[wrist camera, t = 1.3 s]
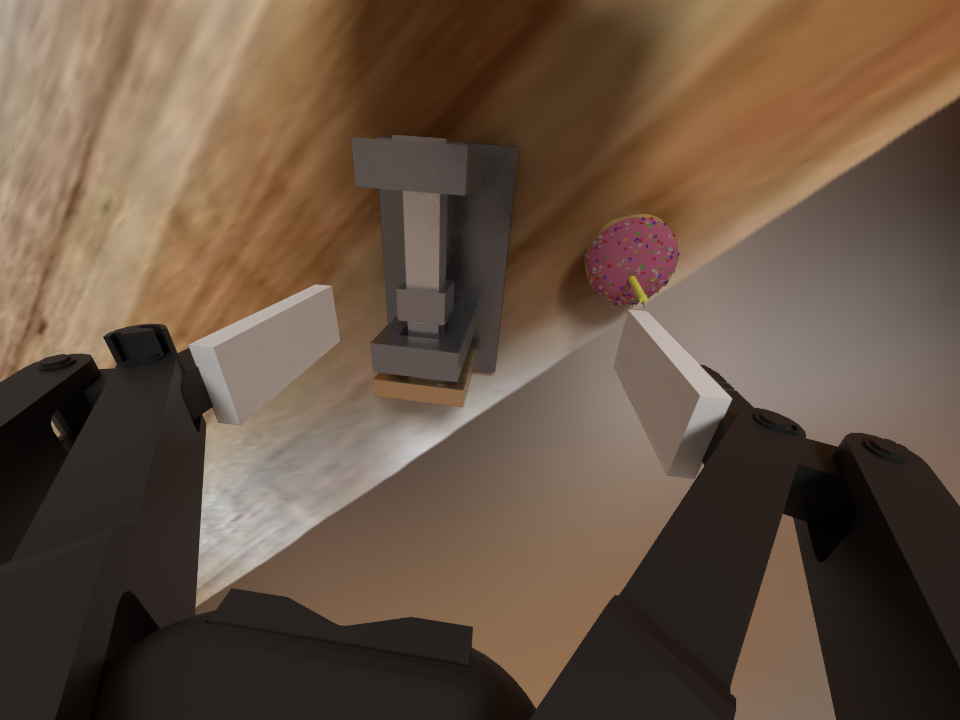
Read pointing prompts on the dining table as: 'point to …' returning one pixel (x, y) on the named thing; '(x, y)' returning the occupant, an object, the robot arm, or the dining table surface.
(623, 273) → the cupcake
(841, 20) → the dining table surface
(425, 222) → the shaft
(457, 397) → the block
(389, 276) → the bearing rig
